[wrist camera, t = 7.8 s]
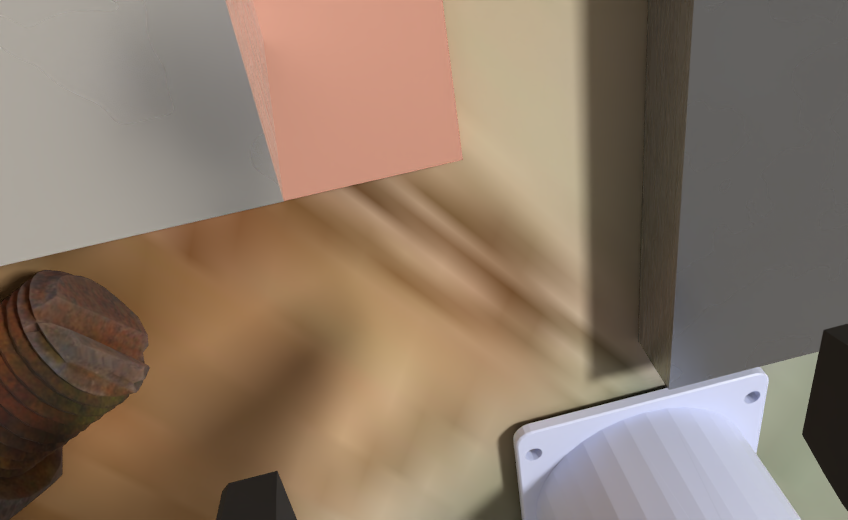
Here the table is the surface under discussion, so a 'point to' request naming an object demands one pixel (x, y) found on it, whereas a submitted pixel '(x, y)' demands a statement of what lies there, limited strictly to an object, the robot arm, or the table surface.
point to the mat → (357, 90)
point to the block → (743, 184)
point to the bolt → (59, 375)
